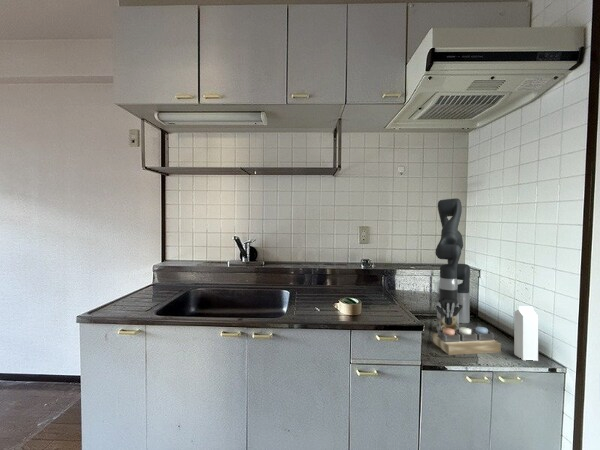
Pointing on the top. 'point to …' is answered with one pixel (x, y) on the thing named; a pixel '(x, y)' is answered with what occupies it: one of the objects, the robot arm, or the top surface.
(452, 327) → the coffee box
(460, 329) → the cream button
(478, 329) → the slate blue button
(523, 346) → the milk
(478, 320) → the top surface
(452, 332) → the terracotta button
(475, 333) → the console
